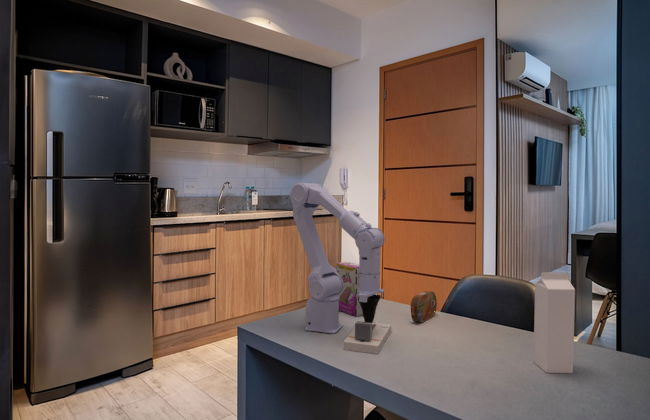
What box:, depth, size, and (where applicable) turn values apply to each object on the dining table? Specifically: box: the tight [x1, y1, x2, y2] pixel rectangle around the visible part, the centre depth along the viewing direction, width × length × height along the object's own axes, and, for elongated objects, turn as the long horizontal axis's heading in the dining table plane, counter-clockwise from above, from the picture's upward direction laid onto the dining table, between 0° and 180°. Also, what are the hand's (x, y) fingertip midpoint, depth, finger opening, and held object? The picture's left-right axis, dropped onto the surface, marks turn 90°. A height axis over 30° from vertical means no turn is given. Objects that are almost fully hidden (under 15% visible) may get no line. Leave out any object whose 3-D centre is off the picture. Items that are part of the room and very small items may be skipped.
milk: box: [533, 271, 576, 374], centre depth 94 cm, size 6×6×22 cm
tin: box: [410, 290, 438, 324], centre depth 131 cm, size 15×3×8 cm, turn 142°
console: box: [342, 322, 392, 355], centre depth 111 cm, size 9×18×2 cm, turn 160°
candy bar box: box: [335, 261, 363, 318], centre depth 138 cm, size 11×5×16 cm, turn 37°
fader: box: [354, 320, 373, 341], centre depth 106 cm, size 4×2×4 cm, turn 70°
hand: (368, 322), depth 112 cm, fingers closed
